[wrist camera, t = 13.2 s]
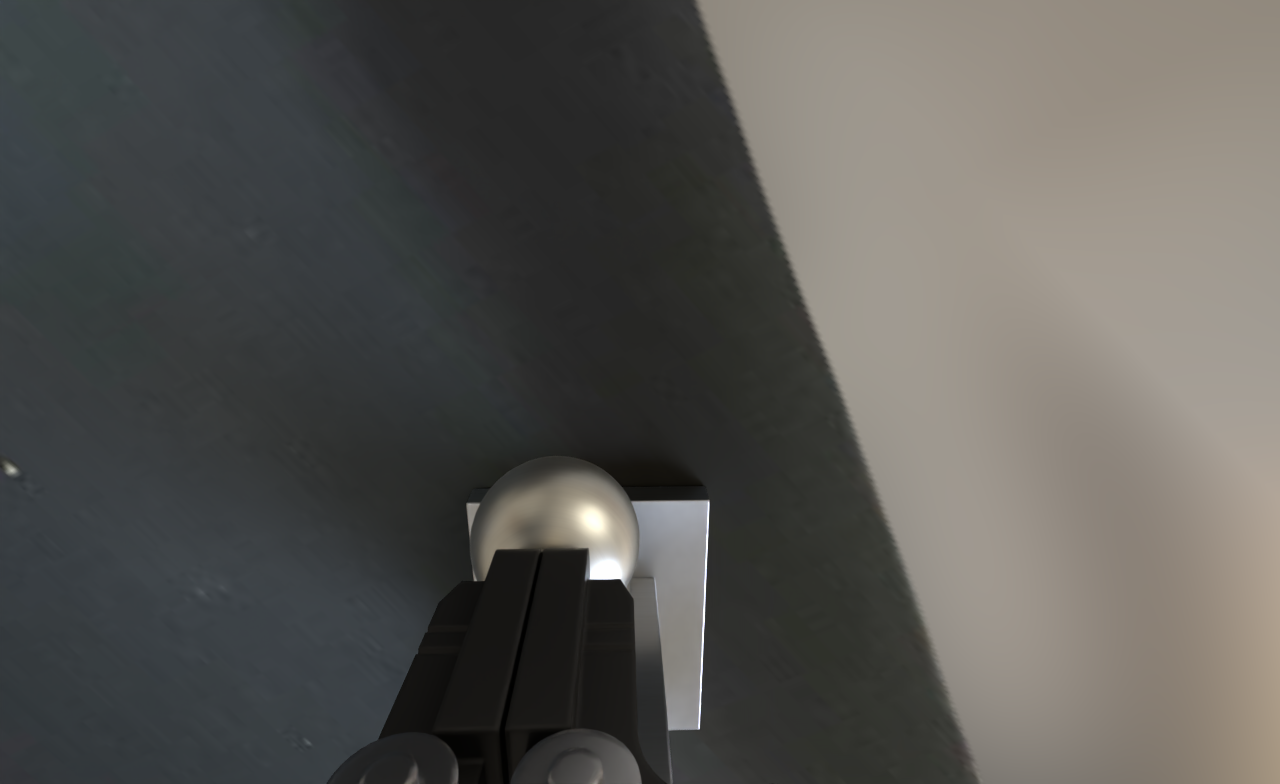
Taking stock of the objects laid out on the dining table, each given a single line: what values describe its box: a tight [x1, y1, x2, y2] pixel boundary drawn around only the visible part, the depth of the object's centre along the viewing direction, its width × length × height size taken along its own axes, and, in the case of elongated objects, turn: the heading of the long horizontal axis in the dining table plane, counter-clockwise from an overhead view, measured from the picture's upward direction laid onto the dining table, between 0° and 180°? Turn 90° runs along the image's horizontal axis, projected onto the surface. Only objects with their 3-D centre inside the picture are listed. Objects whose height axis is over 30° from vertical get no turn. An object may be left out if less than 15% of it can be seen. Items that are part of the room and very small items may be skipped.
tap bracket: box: [466, 486, 710, 784], centre depth 19 cm, size 11×9×13 cm
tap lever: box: [470, 456, 640, 587], centre depth 13 cm, size 13×3×3 cm, turn 0°
